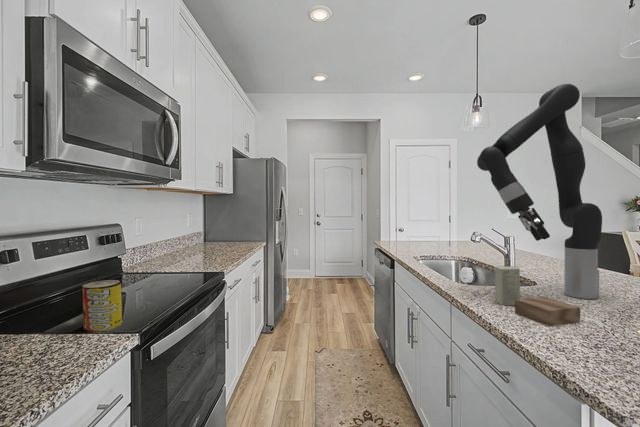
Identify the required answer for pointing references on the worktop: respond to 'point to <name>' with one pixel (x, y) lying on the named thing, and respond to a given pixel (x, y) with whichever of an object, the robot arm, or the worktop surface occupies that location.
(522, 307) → the walnut block
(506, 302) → the skincare box
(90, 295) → the beverage can
